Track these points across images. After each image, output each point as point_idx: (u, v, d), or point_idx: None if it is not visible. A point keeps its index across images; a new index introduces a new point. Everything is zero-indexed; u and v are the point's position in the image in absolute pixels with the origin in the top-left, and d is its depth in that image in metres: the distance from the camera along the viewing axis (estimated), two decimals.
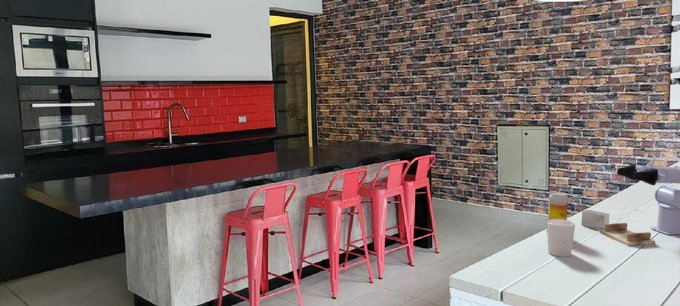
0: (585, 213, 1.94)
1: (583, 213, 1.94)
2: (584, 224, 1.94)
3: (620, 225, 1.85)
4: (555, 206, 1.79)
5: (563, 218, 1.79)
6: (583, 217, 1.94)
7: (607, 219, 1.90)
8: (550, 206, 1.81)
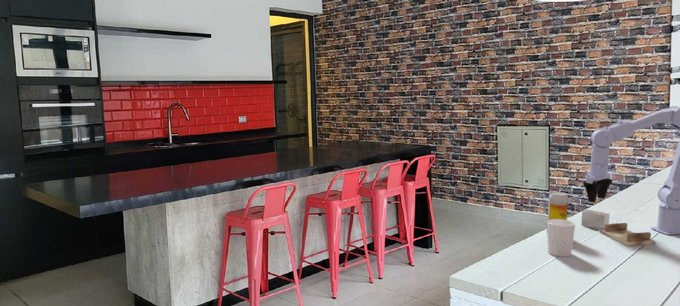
0: (585, 213, 1.94)
1: (583, 213, 1.94)
2: (584, 224, 1.94)
3: (620, 225, 1.85)
4: (555, 206, 1.79)
5: (563, 218, 1.79)
6: (583, 217, 1.94)
7: (607, 219, 1.90)
8: (550, 206, 1.81)
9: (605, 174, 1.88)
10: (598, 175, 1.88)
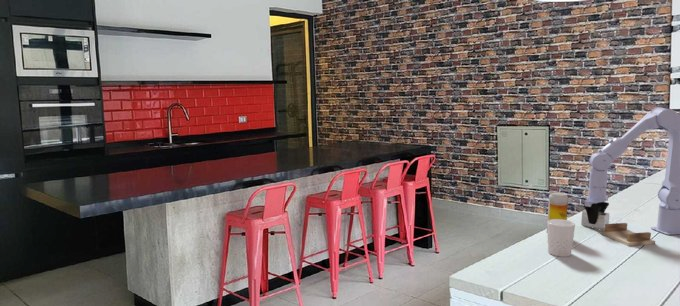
0: (585, 213, 1.94)
1: (583, 213, 1.94)
2: (584, 224, 1.94)
3: (620, 225, 1.85)
4: (555, 206, 1.79)
5: (563, 218, 1.79)
6: (583, 217, 1.94)
7: (607, 219, 1.90)
8: (550, 206, 1.81)
9: (603, 197, 1.89)
10: (596, 198, 1.89)
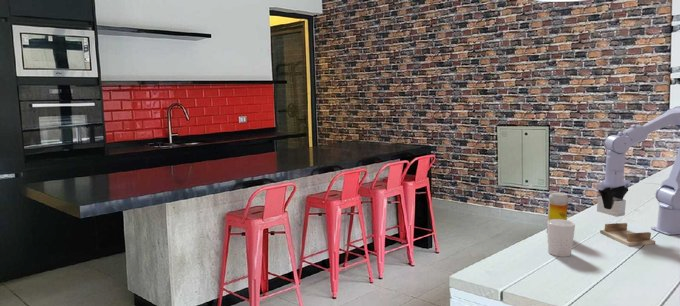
0: (600, 198, 1.87)
1: (598, 198, 1.88)
2: (599, 210, 1.88)
3: (620, 225, 1.85)
4: (555, 206, 1.79)
5: (563, 218, 1.79)
6: (598, 202, 1.88)
7: (622, 205, 1.82)
8: (550, 206, 1.81)
9: (619, 181, 1.81)
10: (611, 182, 1.82)
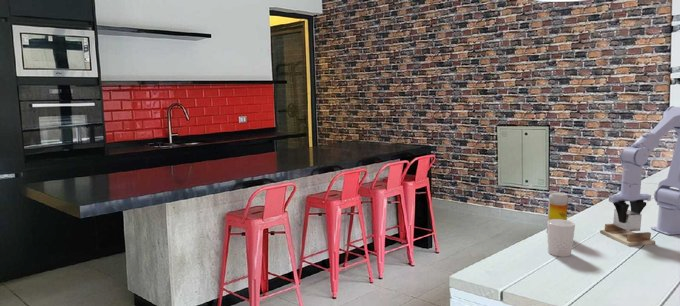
0: (616, 211, 1.82)
1: (615, 211, 1.82)
2: (615, 223, 1.82)
3: None
4: (555, 206, 1.79)
5: (563, 218, 1.79)
6: (615, 215, 1.83)
7: (637, 220, 1.76)
8: (550, 206, 1.81)
9: (634, 195, 1.75)
10: (625, 195, 1.76)
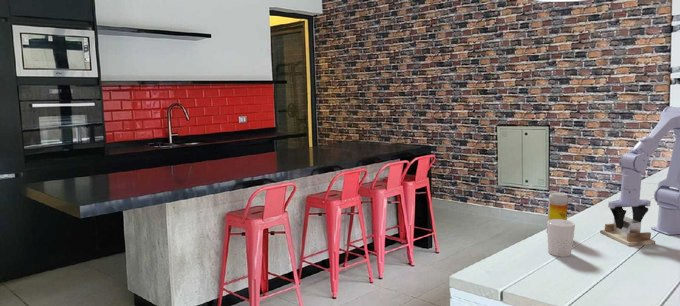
0: None
1: (614, 219, 1.83)
2: (615, 230, 1.83)
3: None
4: (555, 206, 1.79)
5: (563, 218, 1.79)
6: (614, 223, 1.83)
7: (637, 228, 1.76)
8: (550, 206, 1.81)
9: (633, 201, 1.75)
10: (625, 201, 1.77)
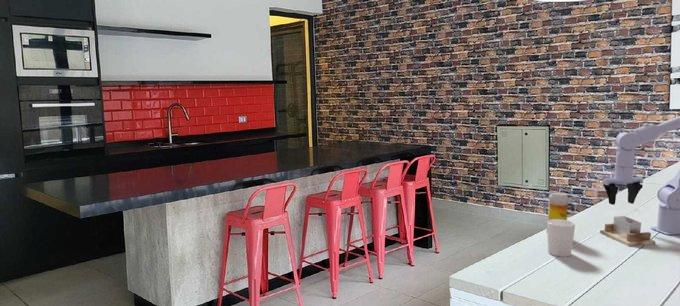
0: (616, 219, 1.82)
1: (614, 219, 1.83)
2: (615, 230, 1.83)
3: None
4: (555, 206, 1.79)
5: (563, 218, 1.79)
6: (614, 223, 1.83)
7: (637, 228, 1.76)
8: (550, 206, 1.81)
9: (627, 177, 1.85)
10: (619, 178, 1.86)
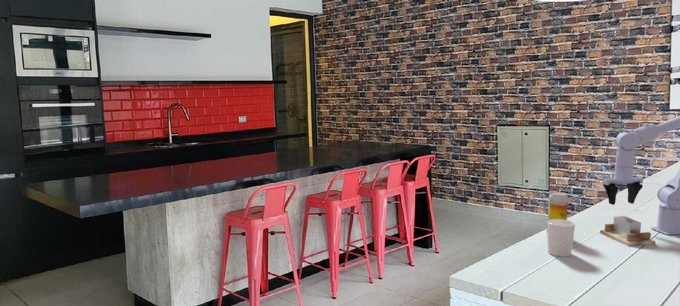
0: (616, 219, 1.82)
1: (614, 219, 1.83)
2: (615, 230, 1.83)
3: None
4: (555, 206, 1.79)
5: (563, 218, 1.79)
6: (614, 223, 1.83)
7: (637, 228, 1.76)
8: (550, 206, 1.81)
9: (627, 177, 1.85)
10: (619, 178, 1.86)
